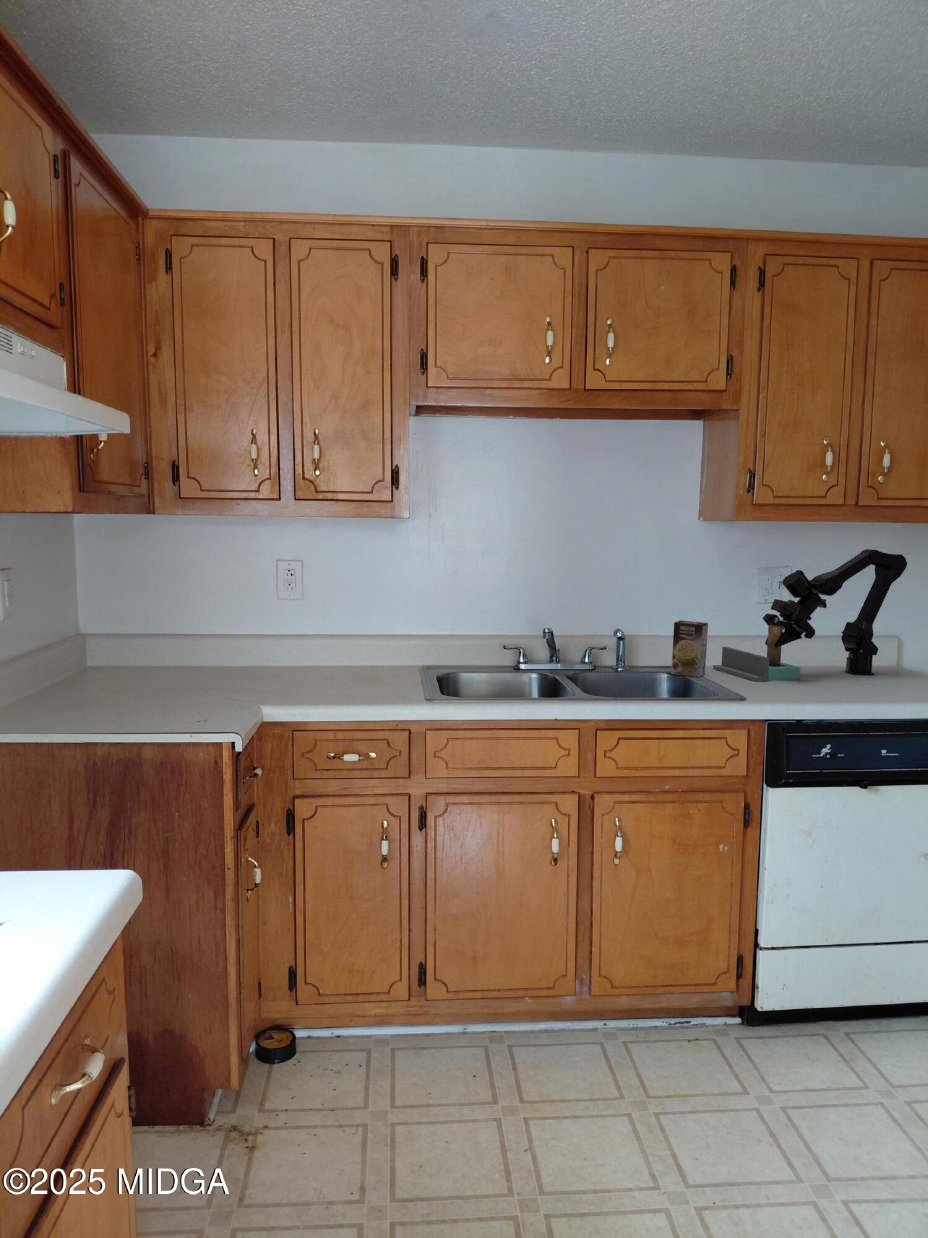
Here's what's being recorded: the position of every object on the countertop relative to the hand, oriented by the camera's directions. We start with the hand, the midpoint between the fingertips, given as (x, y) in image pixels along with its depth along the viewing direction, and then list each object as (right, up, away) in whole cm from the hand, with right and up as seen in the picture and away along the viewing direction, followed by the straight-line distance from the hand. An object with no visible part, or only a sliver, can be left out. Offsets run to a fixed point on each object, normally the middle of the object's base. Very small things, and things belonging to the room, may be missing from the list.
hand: (770, 645), depth 261 cm
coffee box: (-24, -9, +4) cm, 26 cm away
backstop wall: (-8, -9, +4) cm, 13 cm away
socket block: (+1, -10, +2) cm, 10 cm away
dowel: (+1, -6, +1) cm, 7 cm away
